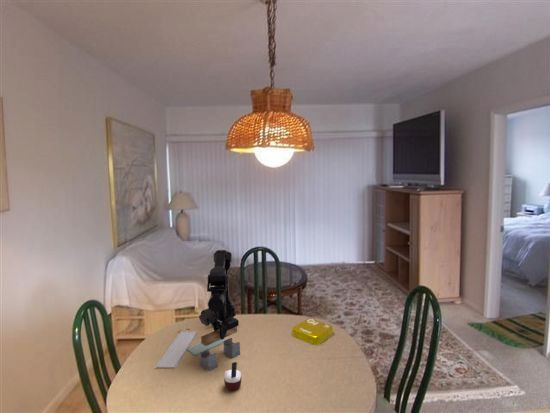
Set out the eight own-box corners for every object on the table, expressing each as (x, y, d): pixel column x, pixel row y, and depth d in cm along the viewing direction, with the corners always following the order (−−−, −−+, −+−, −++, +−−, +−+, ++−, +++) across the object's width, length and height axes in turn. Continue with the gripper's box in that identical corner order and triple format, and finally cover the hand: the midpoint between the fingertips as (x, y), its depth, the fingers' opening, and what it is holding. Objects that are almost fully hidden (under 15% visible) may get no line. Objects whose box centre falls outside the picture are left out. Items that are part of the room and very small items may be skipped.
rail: (232, 329, 147) (232, 323, 146) (237, 332, 144) (236, 325, 144) (201, 343, 135) (201, 336, 135) (205, 346, 133) (205, 339, 133)
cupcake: (227, 380, 127) (225, 349, 127) (244, 380, 127) (242, 349, 126) (221, 396, 118) (219, 363, 117) (239, 396, 117) (237, 362, 117)
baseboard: (150, 370, 136) (175, 370, 135) (150, 363, 135) (174, 363, 135) (177, 334, 166) (197, 334, 165) (176, 328, 165) (196, 328, 165)
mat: (218, 336, 161) (218, 335, 161) (227, 341, 156) (227, 340, 156) (186, 350, 149) (186, 349, 149) (195, 356, 144) (195, 354, 144)
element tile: (290, 336, 161) (290, 327, 160) (308, 325, 172) (308, 316, 171) (316, 346, 151) (316, 336, 150) (334, 334, 162) (334, 324, 161)
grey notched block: (208, 361, 140) (208, 348, 140) (217, 366, 136) (216, 353, 135) (200, 365, 137) (199, 352, 137) (208, 371, 133) (208, 357, 133)
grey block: (231, 350, 149) (230, 337, 148) (240, 354, 145) (239, 342, 144) (224, 353, 146) (223, 341, 145) (232, 358, 142) (232, 346, 141)
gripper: (189, 301, 139) (190, 337, 141) (216, 314, 126) (217, 353, 128) (211, 294, 147) (212, 328, 148) (239, 305, 134) (240, 342, 136)
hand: (219, 337), depth 140 cm, fingers closed on rail, 3 cm apart
